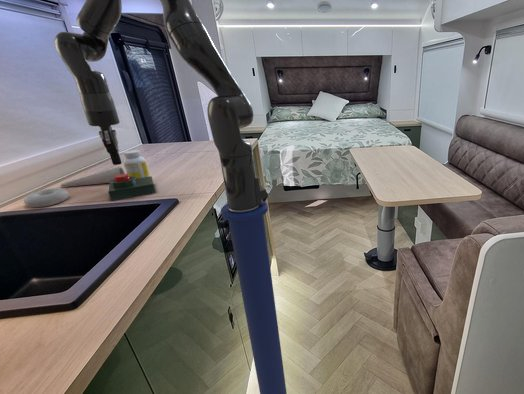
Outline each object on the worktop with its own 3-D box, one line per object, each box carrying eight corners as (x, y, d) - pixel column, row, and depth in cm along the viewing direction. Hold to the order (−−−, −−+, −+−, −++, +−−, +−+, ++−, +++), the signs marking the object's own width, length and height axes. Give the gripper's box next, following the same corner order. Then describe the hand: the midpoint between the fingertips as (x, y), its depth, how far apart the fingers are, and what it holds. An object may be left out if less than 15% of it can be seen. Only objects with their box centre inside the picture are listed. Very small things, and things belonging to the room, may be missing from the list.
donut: (33, 212, 85) (75, 199, 93) (27, 201, 83) (71, 189, 91) (21, 204, 89) (63, 193, 97) (16, 194, 88) (59, 184, 96)
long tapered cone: (49, 180, 97) (117, 167, 104) (57, 177, 103) (121, 165, 110) (57, 196, 99) (123, 182, 106) (65, 192, 105) (127, 179, 112)
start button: (130, 177, 99) (128, 172, 98) (130, 181, 96) (128, 176, 95) (115, 180, 96) (113, 175, 96) (115, 183, 93) (113, 178, 93)
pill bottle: (149, 178, 112) (141, 148, 108) (152, 182, 108) (143, 151, 103) (129, 181, 109) (119, 151, 104) (130, 186, 104) (120, 154, 99)
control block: (153, 184, 106) (150, 171, 104) (155, 192, 98) (151, 178, 96) (112, 191, 99) (108, 177, 98) (111, 200, 92) (106, 186, 90)
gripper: (86, 107, 90) (104, 161, 97) (80, 111, 80) (101, 171, 87) (116, 106, 94) (131, 158, 101) (114, 109, 84) (131, 167, 91)
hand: (117, 164), depth 94 cm, fingers closed
